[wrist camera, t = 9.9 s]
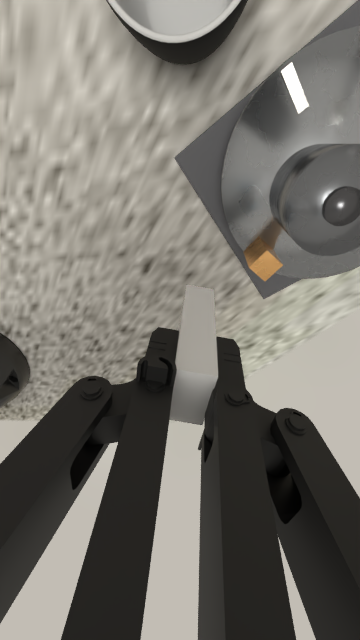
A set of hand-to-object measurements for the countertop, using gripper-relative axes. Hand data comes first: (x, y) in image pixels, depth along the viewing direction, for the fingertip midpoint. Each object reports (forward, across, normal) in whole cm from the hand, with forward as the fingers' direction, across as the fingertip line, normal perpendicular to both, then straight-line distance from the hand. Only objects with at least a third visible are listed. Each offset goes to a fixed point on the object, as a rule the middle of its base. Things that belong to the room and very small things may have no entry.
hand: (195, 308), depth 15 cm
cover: (+13, +9, +6) cm, 17 cm away
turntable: (+15, +10, +7) cm, 19 cm away
